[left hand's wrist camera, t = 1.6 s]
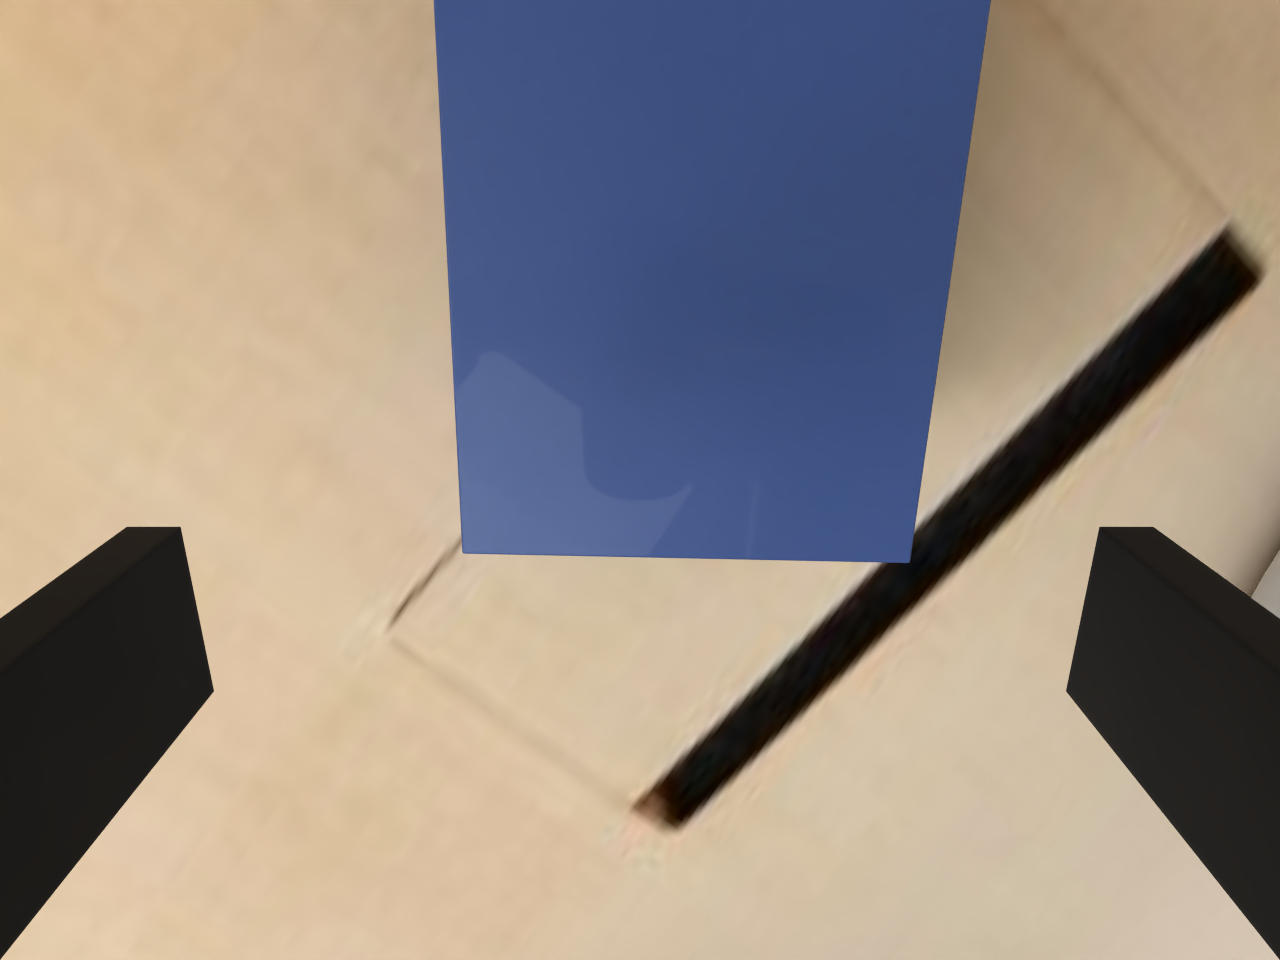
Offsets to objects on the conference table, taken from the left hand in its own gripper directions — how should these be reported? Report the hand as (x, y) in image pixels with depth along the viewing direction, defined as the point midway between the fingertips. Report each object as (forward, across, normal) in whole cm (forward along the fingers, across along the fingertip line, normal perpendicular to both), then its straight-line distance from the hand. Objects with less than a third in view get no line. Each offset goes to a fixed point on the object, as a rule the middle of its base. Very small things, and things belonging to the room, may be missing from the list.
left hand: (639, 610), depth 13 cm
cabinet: (+20, -1, -5) cm, 20 cm away
